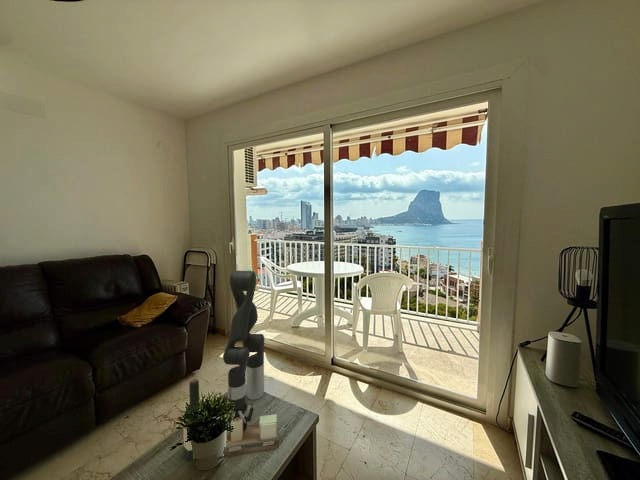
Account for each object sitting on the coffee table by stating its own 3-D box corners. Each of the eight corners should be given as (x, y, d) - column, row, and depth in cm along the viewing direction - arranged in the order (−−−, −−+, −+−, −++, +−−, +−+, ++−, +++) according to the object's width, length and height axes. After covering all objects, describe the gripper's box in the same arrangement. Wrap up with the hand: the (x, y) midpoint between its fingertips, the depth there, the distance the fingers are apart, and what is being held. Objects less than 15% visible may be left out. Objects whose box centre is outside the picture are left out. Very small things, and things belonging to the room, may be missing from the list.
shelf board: (222, 433, 111) (222, 426, 110) (277, 425, 115) (277, 417, 115) (216, 459, 99) (216, 450, 98) (278, 448, 103) (278, 440, 103)
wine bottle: (197, 462, 97) (196, 388, 95) (179, 458, 99) (177, 385, 97) (211, 444, 105) (209, 375, 103) (193, 440, 107) (192, 373, 105)
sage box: (260, 434, 108) (259, 416, 108) (276, 431, 109) (276, 414, 109) (259, 443, 103) (259, 424, 103) (276, 440, 105) (276, 422, 104)
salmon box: (230, 442, 104) (230, 423, 104) (233, 428, 111) (233, 411, 110) (242, 440, 105) (242, 421, 105) (244, 427, 112) (244, 409, 111)
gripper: (254, 385, 112) (255, 421, 113) (221, 389, 109) (221, 426, 110) (253, 396, 105) (254, 435, 106) (217, 401, 102) (218, 441, 103)
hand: (237, 430), depth 108 cm, fingers closed on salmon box, 4 cm apart
